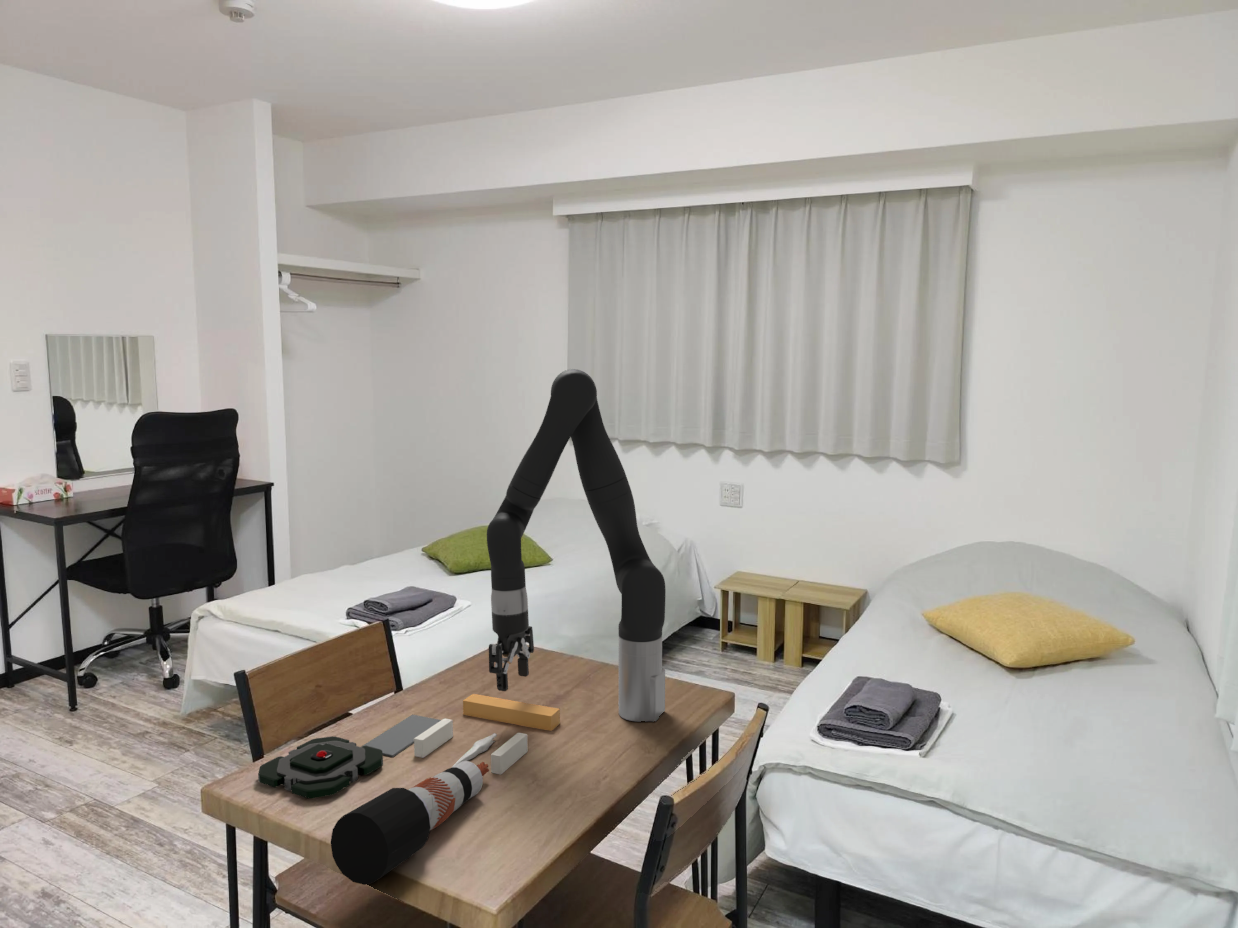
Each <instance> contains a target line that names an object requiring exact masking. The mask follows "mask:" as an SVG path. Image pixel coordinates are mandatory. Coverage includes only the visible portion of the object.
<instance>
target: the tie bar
mask: <svg viewBox="0 0 1238 928" xmlns="http://www.w3.org/2000/svg"><path fill="white" fill-rule="evenodd" d="M462 712H463V714H462V715H463V716H469V717H474V718H480V719H484V720H489V721H495V722H500V723H507V724H512V725H517V726H522V727H528V728H531V729H532V728H533V729H539V730H544V731H550V732H551V731H553V730H554V729H556V728H557V726H559V725H560V724H561V709H560V708H558V707H552V706H546V705H539V704H534V703H529V702H525V701H524V702H523V701H517V700H510V699H506V698H500V697H495V696H488V695H483V694H476V693H472V694H471V695H469V696H467V697H466V698H465V699H463V700H462Z"/></svg>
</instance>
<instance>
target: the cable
mask: <svg viewBox="0 0 1238 928" xmlns="http://www.w3.org/2000/svg"><path fill="white" fill-rule="evenodd" d="M452 766H453V765H452ZM452 766H451V767H449V768H446V769H445V770H444V771H442V772H439V773H437V774H436V775H434V776H432V777H428V778H425V779H424V780H423V781H420V782H418V783H417V784H415V785H414V786H412V787H410V788H409V789H407V788H406V787H392V788H390V789H389V790H387V791H385V792H383V793H381V794H379V795H378V796H375V797H374V798H372V799H370V800H369V801H367V802H365V803H363V804H362V805H360V806H358V807H356V808H354V809H353V810H351V811H349V812H347V813H346V814H344V815H342V816H341V817H340V818H339V819H338V820H337V821H336V823H335V825H334V826H333V828H332V831H331V838H330V848H331V854H332V855H331V856H332V858H333V860H334V863H335V864H336V865H335V866H336V867H337V868H338V870H339V871H340V872H341V874H342V875H343V876H344V877H346V878H347V879H348V880H349V881H351V882H353V883H355V884H359V885H364V886H365V885H369V884H373V883H375V882H376V881H378V880H380V879H381V878H383V877H384V876H386V875H387V874H389V873H390V872H391V871H392V870H393V869H395V868H396V867H398V866H400V865H401V864H402V863H403V862H405V861H406V860H408V859H409V858H411V857H413V856H414V854H416V853H417V852H418V851H420V850H421V849H422V848H423V847H424V846H425V845H426V844H427V842H428V840H429V835H430V832H431V831H432V830H435V829H436V828H437V827H439V826H440V825H441V824H442V823H444V822H445V821H446V820H447V819H448V818H449V817H450V816H451V815H452V814H453V813H454V812H455V811H457V810H458V809H459V808H460V807H461V806H462V805H464V804H466V803H467V802H468V801H469V800H470V799H471V798H473V797H475V796H476V795H477V794H479V793H480V791H481V790H482V788H483V785H484V783H483V782H484V780H483V779H484V778H483V777H484V776H485V775H486V774H487V773H489V771H490V769H489V764H488V763H485V762H484V761H482V762H480V763H479V764H477V765H476V764H475V763H474V762H472V761H470V760H468V761H463V762H460V763H458V764H456V765H455V766H453V767H452Z"/></svg>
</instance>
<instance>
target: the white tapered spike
mask: <svg viewBox="0 0 1238 928" xmlns="http://www.w3.org/2000/svg"><path fill="white" fill-rule="evenodd" d="M497 735H498V734H497V733H495V732H493V733H492V734H491V735H488V736H486V737H484V738H481V739H478V740H476V741H475V742H474V743H473V745H472V747H471V748H470V749H469V750H468V751H466V752H465V753H464V754H463V755H462V756H461V757H460V758H459V759H458V760H457V761H456V762H455V763H454V764H453V765H452V766H451V767H453V766H455V765H456V764H458V763H460V762H463V761H470V760H473V759H474V758H475V757H477V756H478V755H479V754H481V753H484V752H486V751H487V750H488V749H490V747H491V746H492V745H493V743H495V742H496V741H495V740H494V739H495V738H497Z"/></svg>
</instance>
